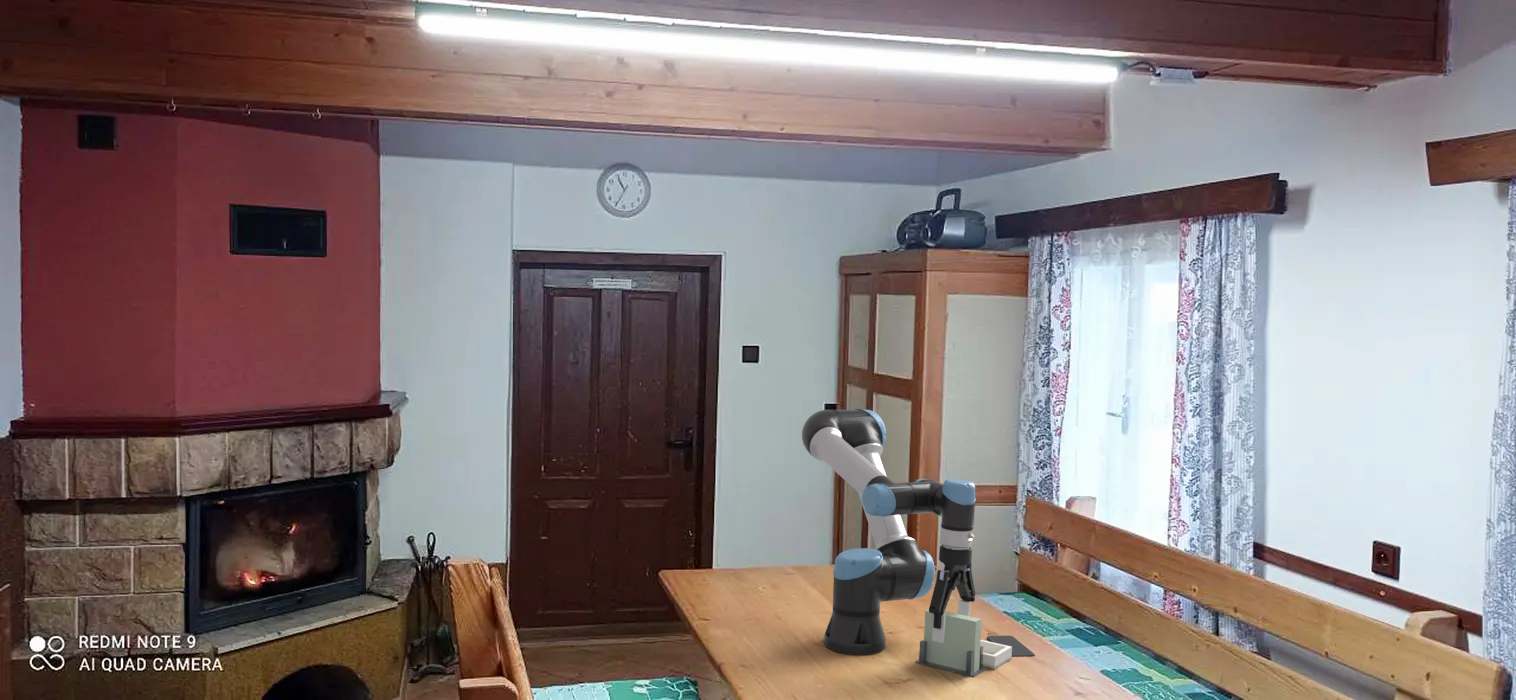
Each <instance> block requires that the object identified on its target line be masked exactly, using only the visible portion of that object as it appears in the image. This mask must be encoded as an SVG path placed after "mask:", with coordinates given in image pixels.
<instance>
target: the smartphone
mask: <svg viewBox="0 0 1516 700" xmlns="http://www.w3.org/2000/svg"><path fill="white" fill-rule="evenodd" d="M986 640H987V641H989V642H993V643H998V644H1002V645H1007V646H1011V647H1012V657H1014V658H1015V657H1017V658H1018V657H1020V658H1021V657H1024V656H1027V657H1035V655H1036V654H1035V653H1034V652H1033V651H1031V650H1030V649H1029V648H1028V647H1026V646H1025V644H1023V643H1022V642H1021V641H1019V640H1018V639H1017V638H1016V637H1014V636H1013V635H987V636H986ZM1012 657H1011V658H1012Z"/></svg>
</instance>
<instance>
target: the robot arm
mask: <svg viewBox="0 0 1516 700" xmlns="http://www.w3.org/2000/svg"><path fill="white" fill-rule="evenodd" d="M886 434H887V431H886V425H885V423H884V421H883V418H881V416H880V415H879V414H878V413H877V412H875V411H873V410H871V409H862V408H855V409H822V410H819V411H817V412H815V413H813V414H811V415H810V416H809V417H808V418H807V420H806V421H805V423H804V424H803V425H802V430H801V440H802V444H803V446H804V449H806V451H807V452H808V453H809V455H810V456H812V458H814V459H816V460H817V461H822V462H824V463H826V465H827V466H829V467H830V468H831V469H832V470H833V471H834V472H835V473H836V474H837V475H838V476H840V477H841V478H842V479H843V480H844V481H845V482H846V483H847V484H848V485H850V486H851V487H852V488H853V489H854V490H855V491H856V492H857V493H858V496H859V500H860V502H861V504H862V508H863V511H864V514H865V517H866V520H867V522H868V526H869V529H870V532H871V535H872V538H873V541H874V545H875V548H871V547H864V548H862V547H858V548H851V549H847V550H844V551H842V552H840V553H838V555H837V556H836V558H835V561H834V566H833V567H834V568H833V571H832V572H833V589H832V590H833V591H832V593H833V595H832V613H831V616H830V618H829V621H828V624H827V627H826V630H825V633H824V637H823V644H824V646H825V647H826V648H827V649H829V650H830V651H831V650H832V651H834V652H837V653H840V654H842V653H843V654H846V655H847V654H848V655H859V656H860V655H861V656H862V655H865V656H866V655H872V654H877V653H880V652H883V651H885V649H886V636H885V633H884V628H883V624H882V622H881V616H880V611H881V610H880V609H881V602H892V601H903V600H914V599H917V598H922V597H924V596H926V595H928V593H930V591H931V589H932V588H934V589H933V592H932V596H931V599H930V603H929V608H928V609H929V612H930V613H933V631H932V641H936V642H940V643H944V634H945V617H946V615H945V614H944V611H945V610H946V609H947V606H948V604H949V600H950V598H951V595H952V592H953V591H954V590H957V592H958V594H959V597H960V599H959V600H958V608H957V614H960V615H965V616H970V615H971V614H970V613H971V603H975V601H976V591H975V583H974V578H973V577H974V576H973V571H972V556H973V549H972V546H973V539H975V535H974V524H975V508H976V502H977V498H976V486H975V485H976V484H975V483H973V482H972V481H970V480H967V479H962V478H961V479H959V478H950V479H949V478H948V479H946V480H944V482H943V483H942V482H939V481H935V480H933V479H930V478H929V479H927V478H918V479H916V480H915V481H913V482H894V481H893V480H891V478H889V477H888V476H887V474H886V470H885V467H884V465H883V462H882V459H881V456H882V454H883V452H884V446H885V444H886V441H887V436H886ZM916 514H919V515H920V514H934V515H937V516H940V517H941V519H940V520H941V521H940V534H939V543H940V544H941V545H940V546H939V550H938V551H939V554H938V560H939V562H940V563H942V564H944V568H943V570H941V569H937V572H936V571H935V569H936V568H935V563H934V559H933V558H932V556H931V554H930V553H928V552H927V551H926V550H924V549H919V546H918V544H917V542H916V539H915V538H912V537H910V536H908V535H909V534H908V533H907V530H906V527H905V524H904V521H903V519H902V515H916ZM935 577H936V581H935V583H934V580H935ZM934 584H935V585H934ZM933 586H934V587H933ZM970 617H971V616H970Z"/></svg>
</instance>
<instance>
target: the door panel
mask: <svg viewBox="0 0 1516 700" xmlns="http://www.w3.org/2000/svg"><path fill="white" fill-rule="evenodd" d="M924 613H925V614H924V630H923V631H924V632H923V633H924V634H923V635H924V636H923V640H924V641H927V648H926V661H927V662H931V663H935V664H939V665H943V666H947V667H951V668H955V669H959V670H963V671H966V658H967V652H968V651H972V652H974V658H973V673H975V672H976V671H978V670H979V661H980V640H982V639H981V638H982V636H981V635H982V618H978V617H975V616H965V615H960V614H958V613H956V612H950V611H944V614H945V615H946V617H945V634H944V643H940V642H936V641H932V631H933V613H930V612H929V608H928V609H927V610H925V611H924Z"/></svg>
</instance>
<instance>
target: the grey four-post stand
mask: <svg viewBox="0 0 1516 700" xmlns="http://www.w3.org/2000/svg"><path fill="white" fill-rule="evenodd" d="M926 648H927V641H924V639H921V640H920V641H919V656H918V659H917V660H915V661H914V662H915V664H918V665H919V664H920V665H924V666H927V667H931V668H936V669H940V670H943V671H948V672H952V673H956V674H960V675H964V676H967V677H971V678H974V677H976V676H978V675H979V674H981V673H983V672H984V671H986V670H987V667H983V666H982V665H983V646H980V661H979V670H978V671H976V672H975V673H973V658H974V652H972V651H968V652H967V658H966V671H963V670H959V669H955V668H951V667H947V666H943V665H939V664H935V663H931V662H927V661H926Z"/></svg>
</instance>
